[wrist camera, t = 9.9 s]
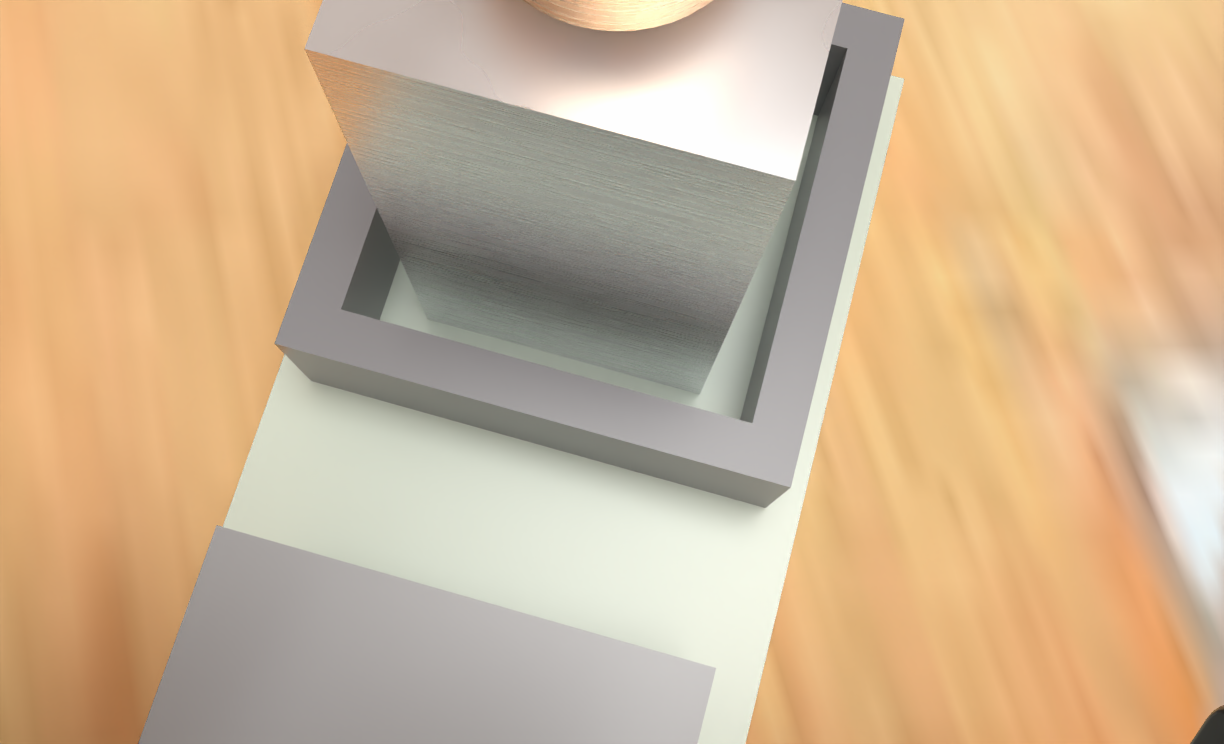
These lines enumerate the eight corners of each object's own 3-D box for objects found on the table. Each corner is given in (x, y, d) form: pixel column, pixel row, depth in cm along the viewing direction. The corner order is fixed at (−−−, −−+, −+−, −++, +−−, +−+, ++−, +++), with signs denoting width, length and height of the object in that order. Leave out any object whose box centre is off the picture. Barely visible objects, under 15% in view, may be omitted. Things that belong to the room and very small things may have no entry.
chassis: (667, 1011, 20) (699, 1144, 14) (135, 852, 20) (-29, 923, 15) (884, 114, 24) (972, -45, 18) (437, -5, 24) (396, -193, 19)
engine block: (699, 394, 21) (869, 16, 8) (427, 319, 21) (212, -157, 9) (767, 142, 22) (1003, -509, 10) (509, 72, 22) (419, -651, 10)
